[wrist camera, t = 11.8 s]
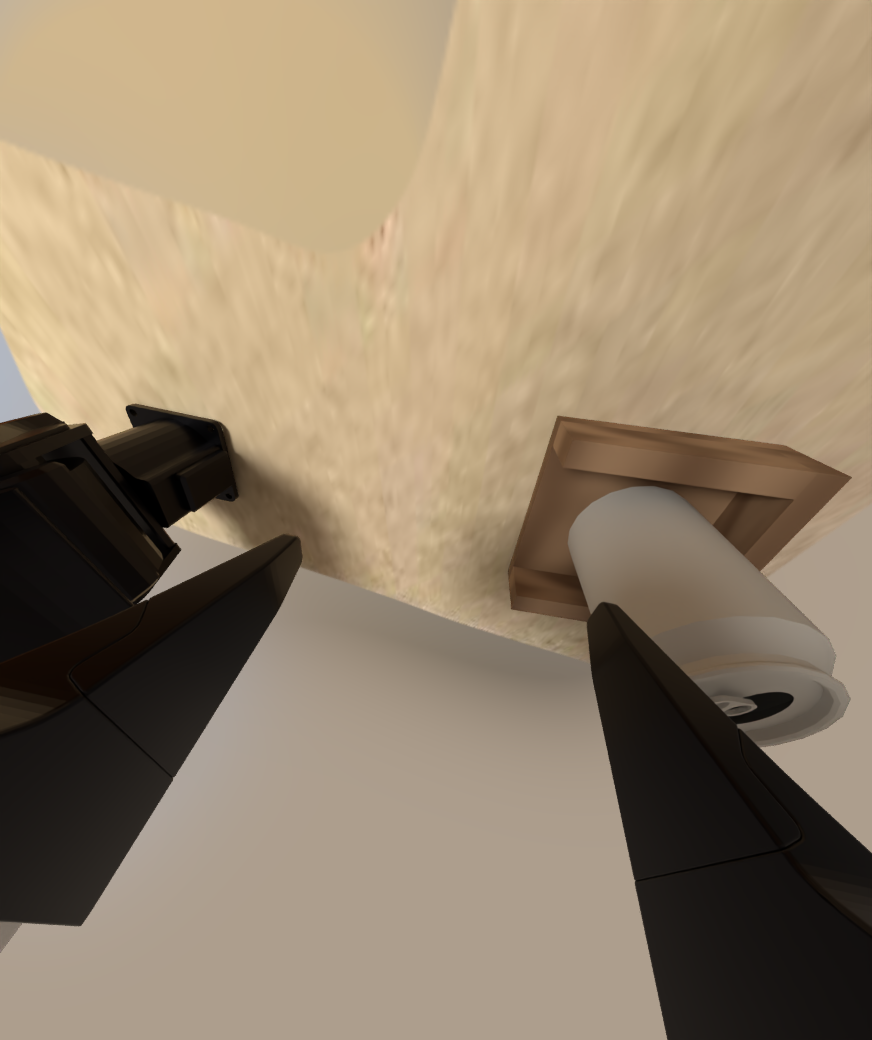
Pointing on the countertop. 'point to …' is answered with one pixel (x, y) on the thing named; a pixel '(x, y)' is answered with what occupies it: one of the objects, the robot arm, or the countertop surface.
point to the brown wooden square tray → (669, 465)
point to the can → (708, 612)
